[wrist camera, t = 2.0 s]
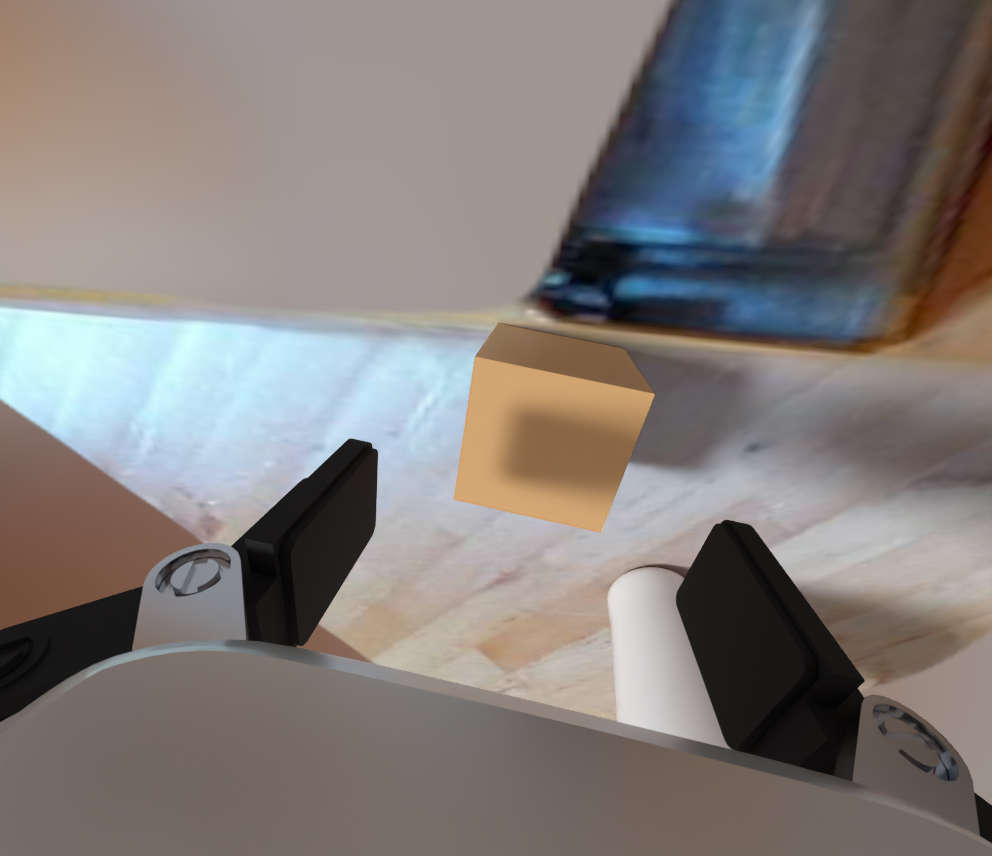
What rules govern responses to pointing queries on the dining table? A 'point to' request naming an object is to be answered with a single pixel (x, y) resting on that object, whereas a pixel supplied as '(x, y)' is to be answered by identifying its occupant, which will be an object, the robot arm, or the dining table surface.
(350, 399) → the dining table surface
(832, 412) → the dining table surface
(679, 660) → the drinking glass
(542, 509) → the beige wooden cube
